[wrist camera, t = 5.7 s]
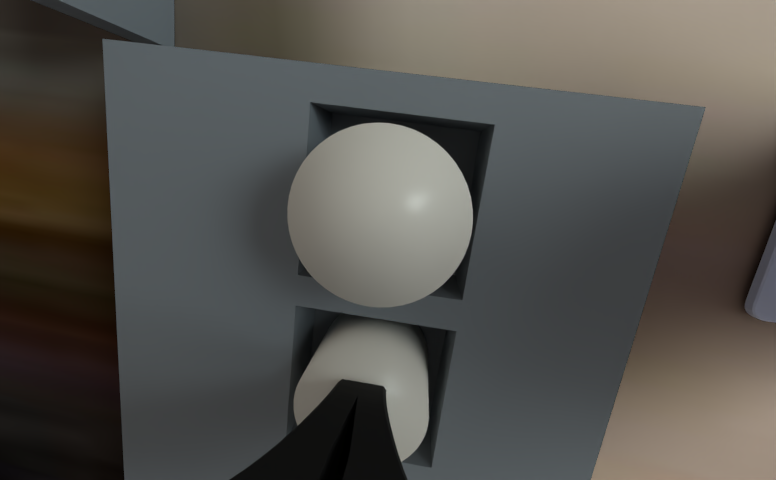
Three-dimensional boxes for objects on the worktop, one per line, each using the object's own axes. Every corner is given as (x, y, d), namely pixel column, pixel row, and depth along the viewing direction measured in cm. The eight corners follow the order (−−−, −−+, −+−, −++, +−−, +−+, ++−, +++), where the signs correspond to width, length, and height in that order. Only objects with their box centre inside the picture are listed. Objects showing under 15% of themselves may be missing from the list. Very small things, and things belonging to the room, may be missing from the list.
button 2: (435, 312, 13) (438, 363, 10) (419, 406, 14) (417, 481, 11) (328, 295, 14) (298, 339, 10) (320, 389, 14) (289, 456, 11)
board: (636, 119, 12) (705, 107, 9) (492, 656, 18) (505, 755, 15) (174, 65, 13) (102, 38, 10) (179, 587, 19) (133, 667, 16)
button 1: (469, 143, 10) (489, 135, 7) (446, 273, 11) (455, 320, 8) (333, 125, 11) (293, 111, 7) (322, 254, 12) (282, 293, 8)
